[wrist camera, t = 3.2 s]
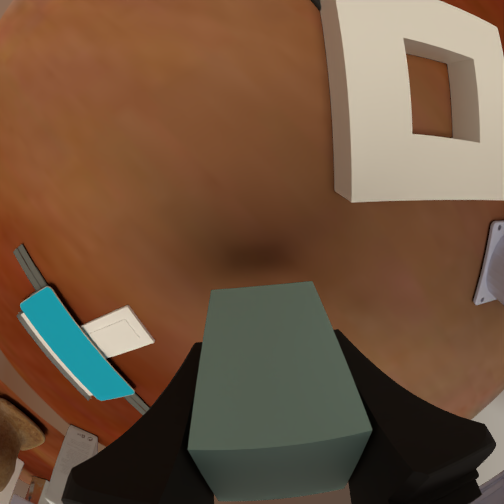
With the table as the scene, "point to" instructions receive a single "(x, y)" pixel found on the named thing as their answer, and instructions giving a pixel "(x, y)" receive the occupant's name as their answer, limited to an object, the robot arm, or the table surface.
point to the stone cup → (15, 438)
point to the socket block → (399, 101)
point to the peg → (274, 397)
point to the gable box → (11, 483)
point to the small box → (37, 491)
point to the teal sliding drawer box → (82, 339)
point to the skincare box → (70, 460)
